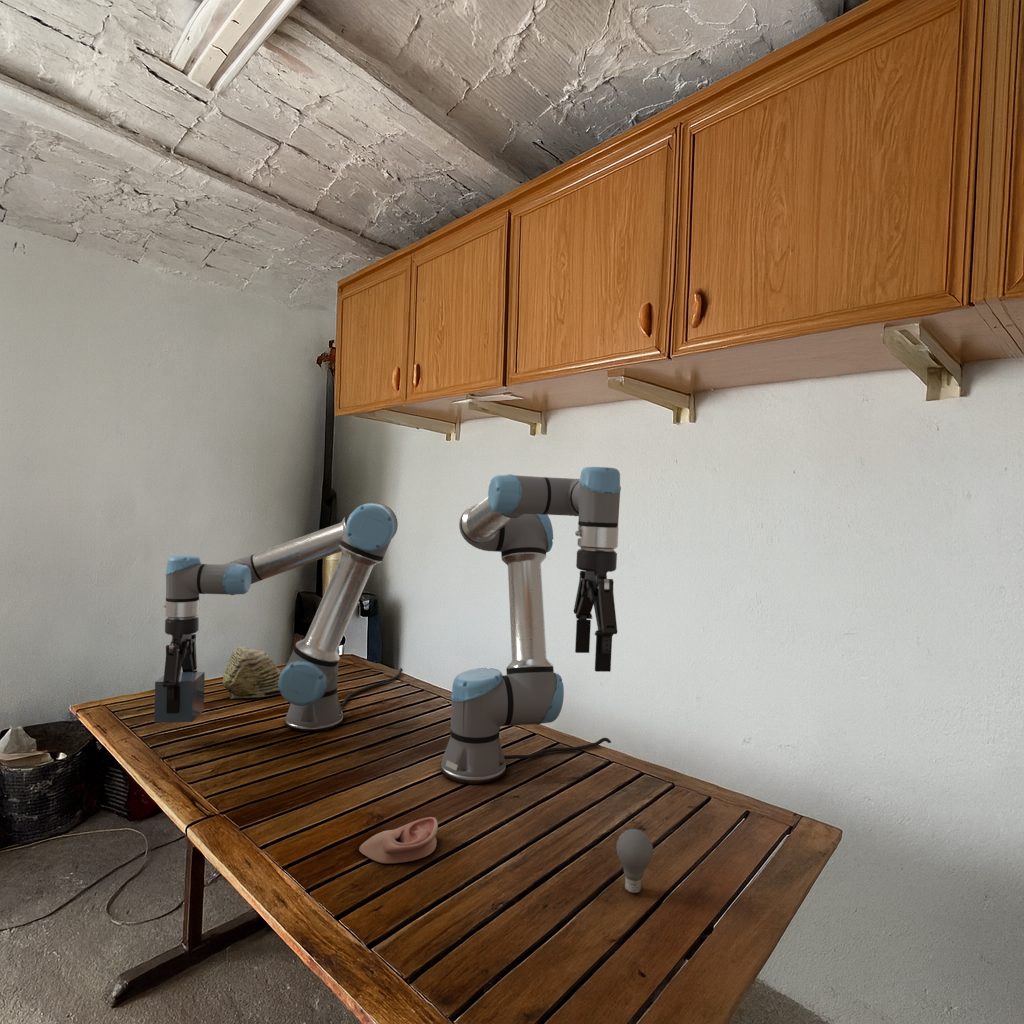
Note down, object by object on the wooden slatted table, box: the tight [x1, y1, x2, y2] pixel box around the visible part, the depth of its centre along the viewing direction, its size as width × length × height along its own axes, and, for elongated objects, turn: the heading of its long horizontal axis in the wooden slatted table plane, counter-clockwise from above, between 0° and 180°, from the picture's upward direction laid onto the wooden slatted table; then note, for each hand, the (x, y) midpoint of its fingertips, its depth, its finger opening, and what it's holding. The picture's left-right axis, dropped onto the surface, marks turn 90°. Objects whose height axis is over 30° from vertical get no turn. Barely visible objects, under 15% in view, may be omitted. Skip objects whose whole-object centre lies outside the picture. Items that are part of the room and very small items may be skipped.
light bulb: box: [615, 828, 654, 894], centre depth 106 cm, size 6×6×10 cm
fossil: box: [222, 646, 281, 699], centre depth 198 cm, size 9×18×15 cm, turn 132°
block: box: [153, 671, 206, 724], centre depth 160 cm, size 8×9×10 cm
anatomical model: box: [358, 816, 439, 864], centre depth 116 cm, size 13×4×12 cm
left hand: (180, 706), depth 160 cm, fingers closed on block, 8 cm apart
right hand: (591, 661), depth 120 cm, fingers open, 13 cm apart
